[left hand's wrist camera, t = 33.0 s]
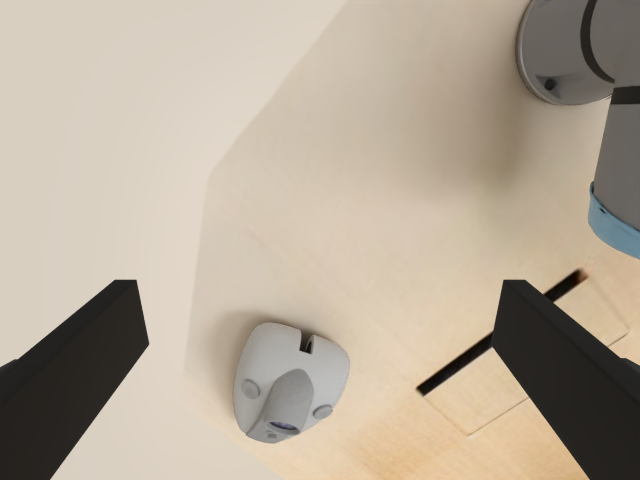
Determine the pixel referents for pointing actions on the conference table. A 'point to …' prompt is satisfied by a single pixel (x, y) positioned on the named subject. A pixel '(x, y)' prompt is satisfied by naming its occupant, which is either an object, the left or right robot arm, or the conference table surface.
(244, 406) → the projector
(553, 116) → the conference table surface
